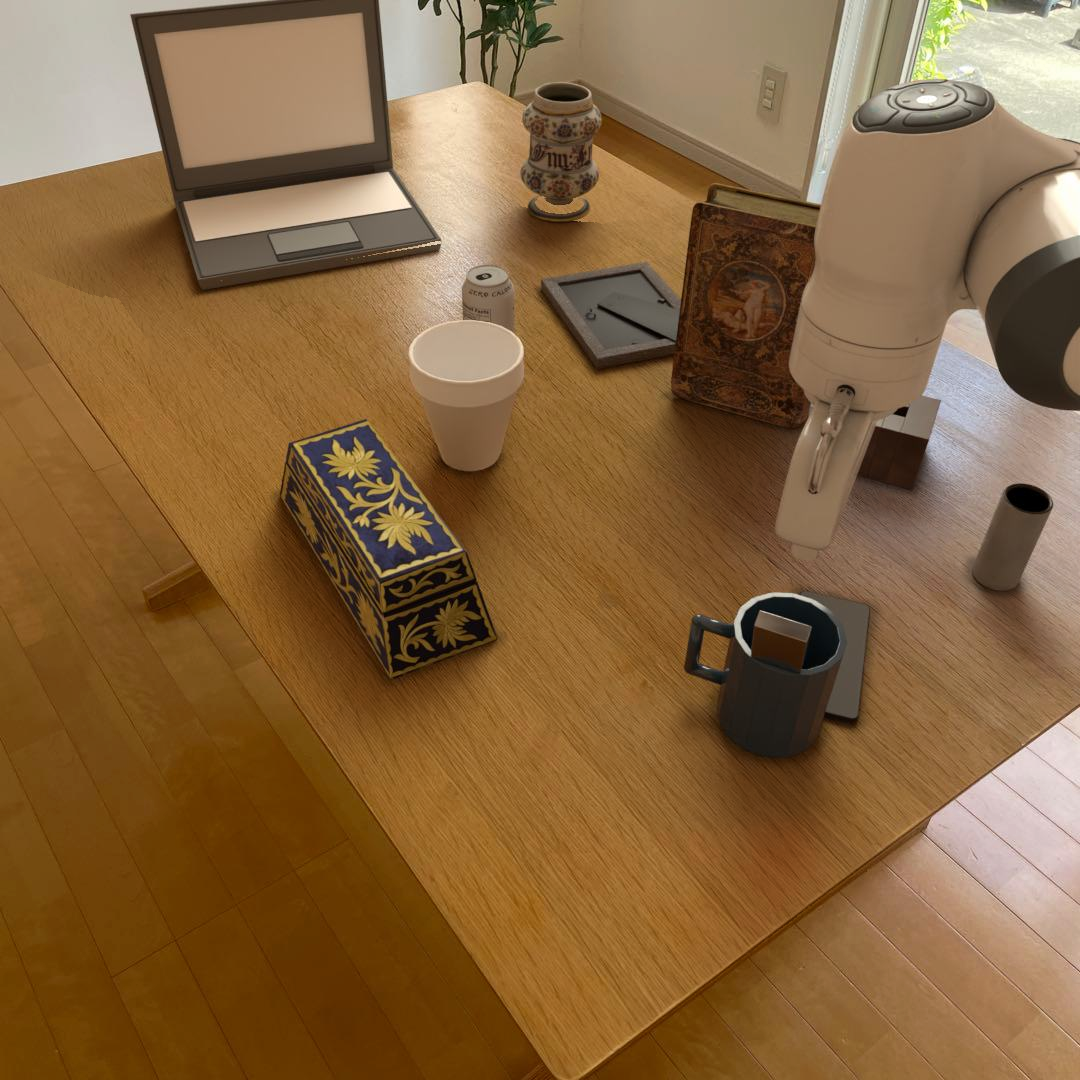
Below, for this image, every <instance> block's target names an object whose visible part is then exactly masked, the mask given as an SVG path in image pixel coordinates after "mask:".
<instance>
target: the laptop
mask: <svg viewBox="0 0 1080 1080" xmlns="http://www.w3.org/2000/svg"><path fill="white" fill-rule="evenodd" d="M129 15H130V19H131V23H132V28H133V31H134V32H133V33H134V37H135V40H136V41H135V42H136V45H137V48H138V49H137V50H138V54H139V58H140V62H141V66H142V70H143V75H144V79H145V83H146V84H145V85H146V87H147V92H148V95H149V100H150V105H151V108H152V112H153V118H154V121H155V126H156V130H157V133H158V134H157V135H158V138H159V143H160V147H161V152H162V155H163V159H164V164H165V168H166V172H167V177H168V180H169V184H170V189H171V193H172V198H173V202H174V206H175V209H176V213H177V216H178V219H179V222H180V225H181V229H182V232H183V236H184V239H185V242H186V246H187V249H188V252H190V253H189V255H190V259H191V263H192V266H193V269H194V272H195V276H196V279H197V282H198V285H199V287H200V288H201V290H202V291H204V290H206V291H207V290H210V289H216V288H217V289H218V288H223V287H229V286H234V285H241V284H245V283H246V284H247V283H252V282H259V281H265V280H271V279H277V278H281V277H282V278H283V277H287V276H288V277H289V276H294V275H301V274H307V273H311V272H319V271H325V270H330V269H335V268H342V267H347V266H353V265H360V264H364V263H370V262H377V261H383V260H388V259H394V258H400V257H407V256H412V255H418V254H424V253H429V252H435V251H440V250H441V248H442V243H441V244H437V245H431V246H425V247H419V248H413V249H407V250H401V251H395V252H389V253H383V252H387V251H392V250H397V249H402V248H408V247H413V246H418V245H422V244H427V243H430V242H435V241H441V242H442V238H441V237H440V235H439V234H438V232H437V231H436V230H435V229H436V228H434V227H433V225H432V224H431V222H430V221H429V219H428V217H427V216H426V215H425V213H424V211H423V210H422V209H421V207H420V205H419V204H418V203H417V201H416V200H415V198H414V197H413V195H412V194H411V192H410V190H409V189H408V188H407V186H406V184H405V183H404V182H403V180H402V178H401V177H400V176H399V175H398V173H397V171H396V170H395V169H394V164H393V149H392V139H391V128H390V117H389V104H388V93H387V79H386V70H385V69H386V68H385V56H384V45H383V34H382V21H381V11H380V0H259V1H248V2H239V3H229V4H218V5H208V6H197V7H188V8H176V9H168V10H156V11H146V12H136V13H130V14H129ZM376 253H383V254H377V255H372V254H376ZM368 255H371V256H368ZM363 256H365V257H363ZM358 257H359V258H358ZM351 258H353V259H351ZM346 259H347V260H346ZM221 280H222V281H221Z"/></svg>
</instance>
